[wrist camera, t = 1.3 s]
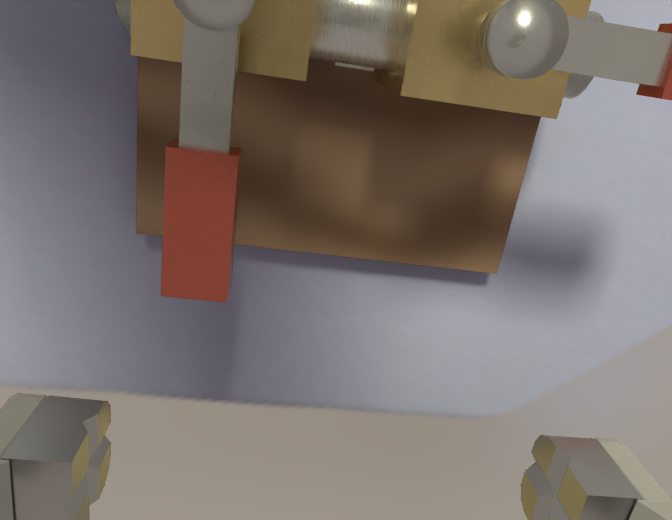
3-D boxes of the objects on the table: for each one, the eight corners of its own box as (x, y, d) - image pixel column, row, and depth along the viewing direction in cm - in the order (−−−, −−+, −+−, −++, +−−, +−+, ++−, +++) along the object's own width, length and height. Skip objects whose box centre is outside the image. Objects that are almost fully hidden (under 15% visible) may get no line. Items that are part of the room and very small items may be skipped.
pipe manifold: (140, -80, 26) (46, -150, 16) (669, 15, 29) (857, 4, 19) (138, 46, 28) (54, 51, 18) (633, 121, 31) (786, 159, 21)
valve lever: (179, -65, 18) (169, -74, 17) (262, -50, 19) (259, -57, 17) (166, 279, 23) (158, 295, 22) (233, 286, 24) (228, 302, 22)
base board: (149, -175, 26) (141, -188, 24) (584, -89, 28) (599, -95, 27) (142, 225, 33) (135, 233, 32) (488, 264, 36) (496, 273, 34)
